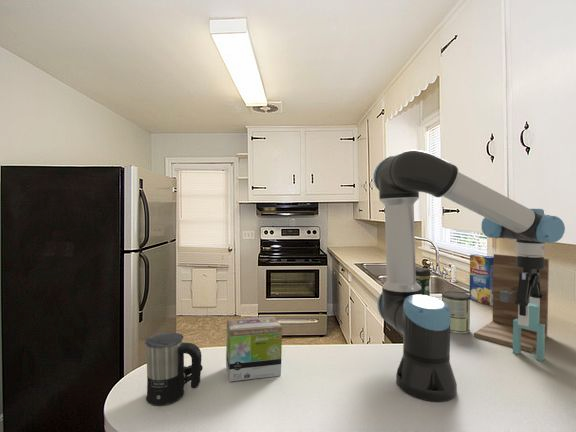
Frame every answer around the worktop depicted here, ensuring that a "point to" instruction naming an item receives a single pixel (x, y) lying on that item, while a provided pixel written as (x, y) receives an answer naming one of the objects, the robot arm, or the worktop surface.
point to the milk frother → (170, 368)
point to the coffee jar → (423, 279)
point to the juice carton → (481, 278)
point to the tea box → (253, 348)
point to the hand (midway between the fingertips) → (528, 320)
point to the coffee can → (458, 310)
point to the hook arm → (508, 295)
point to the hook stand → (512, 304)
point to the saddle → (533, 326)
